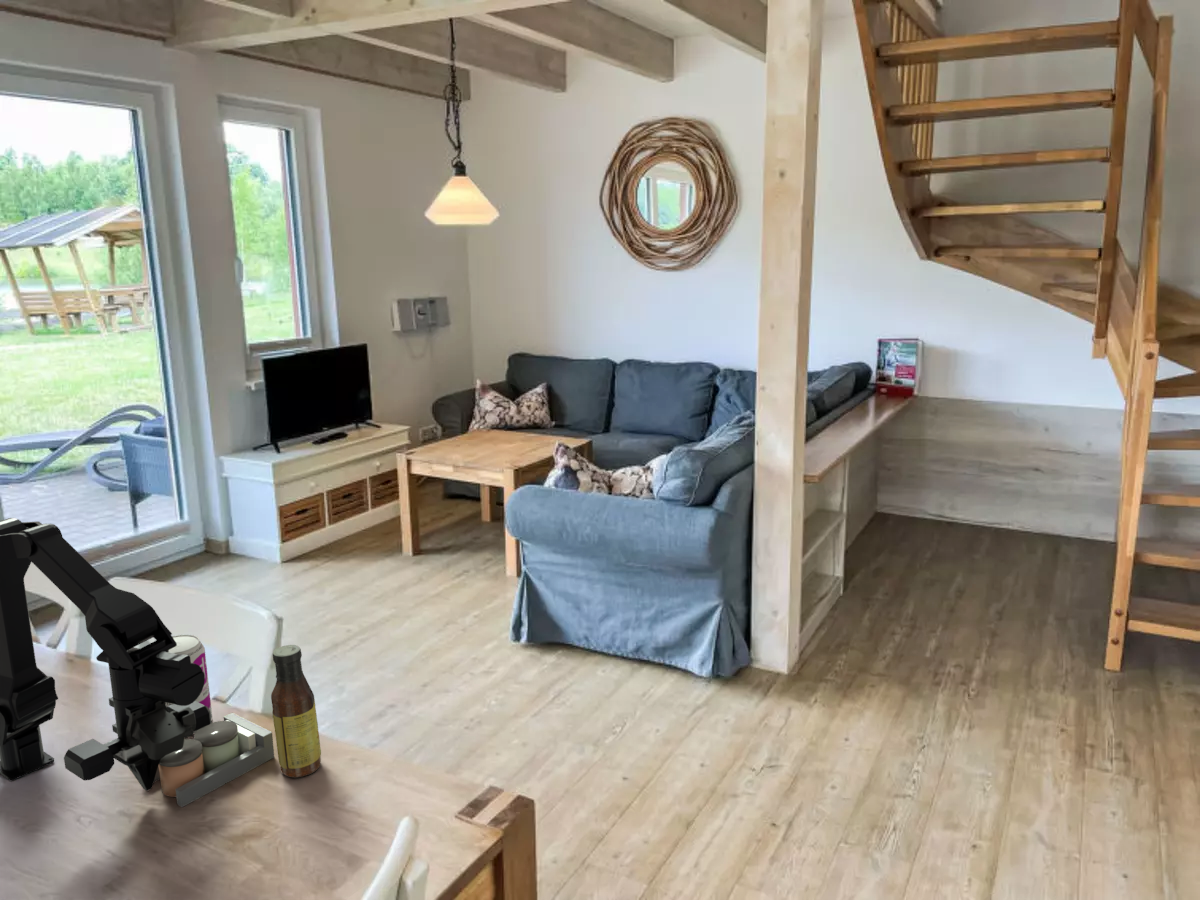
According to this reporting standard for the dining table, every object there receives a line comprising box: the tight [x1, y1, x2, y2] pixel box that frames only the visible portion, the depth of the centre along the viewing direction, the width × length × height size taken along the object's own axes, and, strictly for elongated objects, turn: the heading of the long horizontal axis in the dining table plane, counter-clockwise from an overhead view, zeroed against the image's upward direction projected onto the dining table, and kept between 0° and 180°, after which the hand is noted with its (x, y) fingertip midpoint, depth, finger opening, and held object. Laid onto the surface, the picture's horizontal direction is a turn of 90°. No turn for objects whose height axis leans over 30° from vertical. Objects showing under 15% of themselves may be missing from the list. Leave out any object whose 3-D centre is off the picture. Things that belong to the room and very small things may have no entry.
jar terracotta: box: [159, 738, 205, 798], centre depth 136 cm, size 6×6×6 cm
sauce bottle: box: [270, 644, 322, 779], centre depth 138 cm, size 6×6×20 cm
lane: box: [154, 712, 275, 808], centre depth 140 cm, size 10×16×4 cm
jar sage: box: [193, 720, 240, 773], centre depth 141 cm, size 6×6×6 cm
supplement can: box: [165, 634, 213, 733], centre depth 151 cm, size 8×8×15 cm
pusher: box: [226, 720, 256, 755], centre depth 144 cm, size 7×1×4 cm, turn 55°
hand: (147, 789), depth 132 cm, fingers closed
